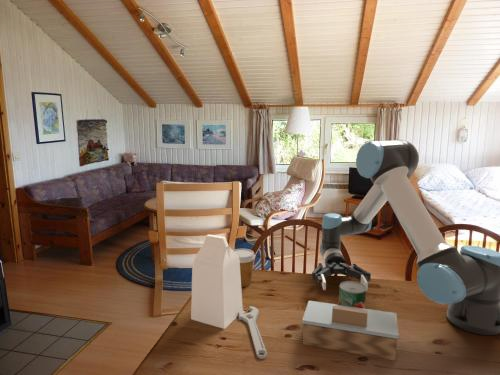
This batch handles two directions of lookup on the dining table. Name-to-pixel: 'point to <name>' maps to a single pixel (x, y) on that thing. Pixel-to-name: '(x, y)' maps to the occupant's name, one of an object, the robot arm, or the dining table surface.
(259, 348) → the adjustable wrench
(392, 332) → the lid
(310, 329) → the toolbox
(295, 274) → the dining table surface
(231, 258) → the milk
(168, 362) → the dining table surface
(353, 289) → the canned tomato
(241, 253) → the disposable coffee cup
